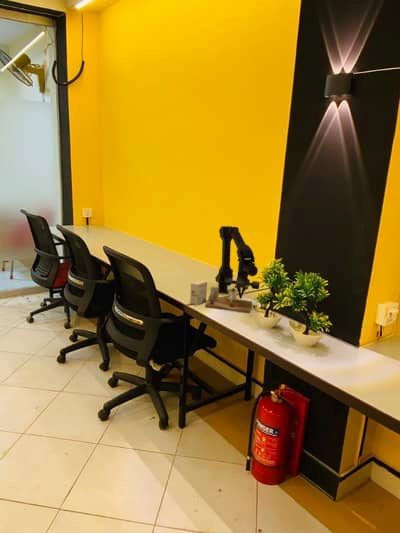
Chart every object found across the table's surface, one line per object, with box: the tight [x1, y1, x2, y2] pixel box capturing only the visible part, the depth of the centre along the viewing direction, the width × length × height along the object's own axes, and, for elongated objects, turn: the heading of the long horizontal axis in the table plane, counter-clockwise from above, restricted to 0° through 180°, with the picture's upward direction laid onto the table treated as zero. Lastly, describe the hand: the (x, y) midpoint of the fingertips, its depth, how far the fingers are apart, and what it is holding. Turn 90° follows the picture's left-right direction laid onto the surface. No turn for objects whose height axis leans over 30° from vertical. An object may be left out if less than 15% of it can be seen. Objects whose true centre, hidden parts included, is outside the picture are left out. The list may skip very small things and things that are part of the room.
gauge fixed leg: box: [209, 286, 219, 303], centre depth 215 cm, size 9×4×6 cm, turn 168°
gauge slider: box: [228, 287, 238, 305], centre depth 213 cm, size 9×4×7 cm, turn 168°
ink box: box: [189, 279, 208, 306], centre depth 214 cm, size 9×5×12 cm, turn 141°
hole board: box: [204, 295, 253, 314], centre depth 214 cm, size 13×24×3 cm, turn 78°
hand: (240, 298), depth 216 cm, fingers closed
